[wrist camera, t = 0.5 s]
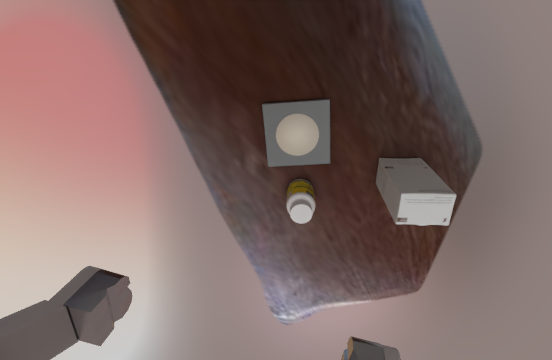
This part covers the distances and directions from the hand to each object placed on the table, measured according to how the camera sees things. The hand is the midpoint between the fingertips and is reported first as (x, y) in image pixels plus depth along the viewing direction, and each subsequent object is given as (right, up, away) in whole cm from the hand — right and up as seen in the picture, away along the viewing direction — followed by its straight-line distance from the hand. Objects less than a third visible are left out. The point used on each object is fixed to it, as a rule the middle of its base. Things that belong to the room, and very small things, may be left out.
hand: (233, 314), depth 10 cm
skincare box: (+25, +6, +47) cm, 54 cm away
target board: (+6, +14, +45) cm, 47 cm away
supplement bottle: (+7, +3, +50) cm, 50 cm away
